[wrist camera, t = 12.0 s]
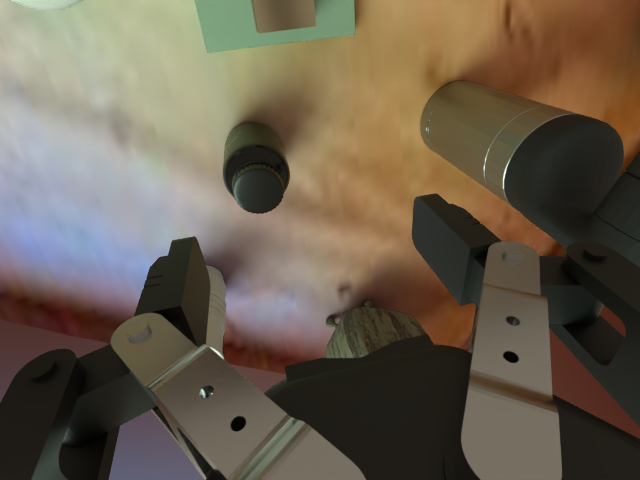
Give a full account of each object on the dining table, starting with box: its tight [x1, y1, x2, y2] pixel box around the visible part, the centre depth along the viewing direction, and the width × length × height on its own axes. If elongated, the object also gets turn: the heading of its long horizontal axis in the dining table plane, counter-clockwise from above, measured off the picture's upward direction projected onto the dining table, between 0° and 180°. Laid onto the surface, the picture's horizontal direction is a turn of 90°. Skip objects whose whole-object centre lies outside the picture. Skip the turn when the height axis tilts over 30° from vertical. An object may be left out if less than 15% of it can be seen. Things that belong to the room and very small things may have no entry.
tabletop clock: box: [326, 301, 426, 358], centre depth 52 cm, size 14×9×25 cm, turn 70°
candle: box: [206, 265, 226, 359], centre depth 46 cm, size 7×7×15 cm
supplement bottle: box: [223, 122, 290, 214], centre depth 38 cm, size 7×7×12 cm
